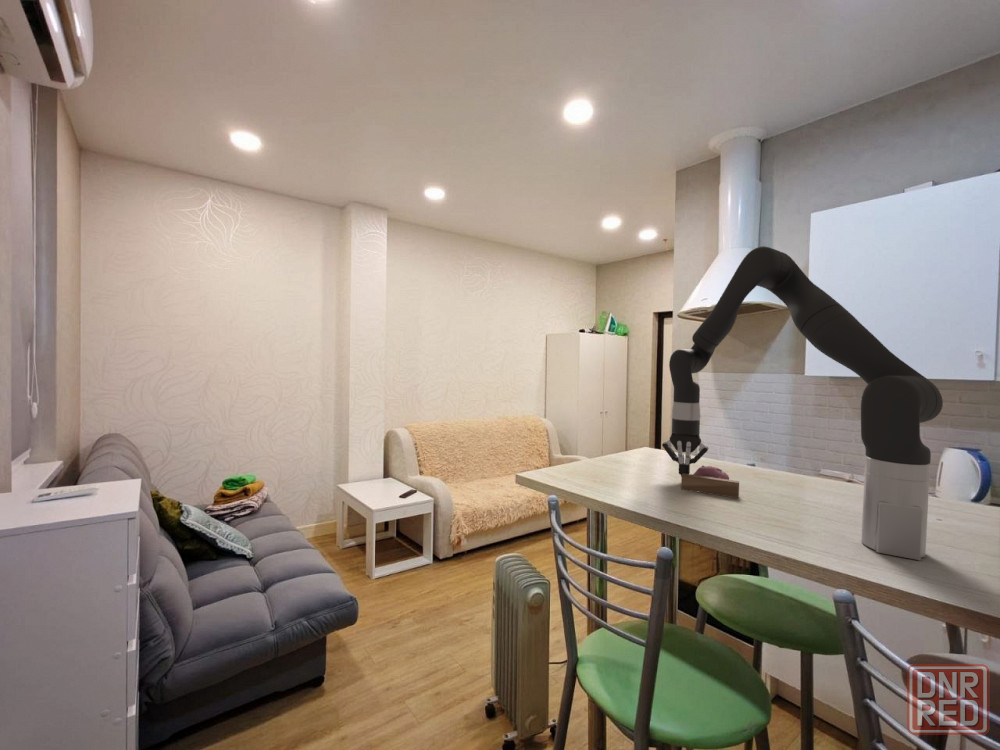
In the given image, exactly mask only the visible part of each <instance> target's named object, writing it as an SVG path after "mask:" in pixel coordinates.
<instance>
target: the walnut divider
mask: <svg viewBox="0 0 1000 750" xmlns="http://www.w3.org/2000/svg"><path fill="white" fill-rule="evenodd" d="M680 483H681V487H680V489H681V490H685V491H690V490H692V492H697V491H699V492H698V493H703V492H705V493H704V494H709V493H711V494H710V495H716V494H717V496H722V495H723V496H724V497H729V496H730V497H731V498H736V499H739V497H740V480H734V479H729V480H727V479H720V478H713V477H706V476H699V475H693V473H691V474H690V473H689V474H684V473H683V474H682V477H681V482H680ZM723 496H722V497H723ZM730 497H729V498H730Z"/></svg>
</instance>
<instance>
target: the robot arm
mask: <svg viewBox="0 0 1000 750" xmlns="http://www.w3.org/2000/svg"><path fill="white" fill-rule="evenodd" d="M756 287H760V288H764V289H766V290H768V291H770V292H771V293H772V294H773V295H774V296H776V297H777V298H778V299H779V300H780V301H781V302H783V303H784V305H785V306H786V307H787V308H788V311H789V313H790V317H791V318H792V319H791V320H792V321H793V324H794V325H795V327H796V328H797V330H798V331H799V333H800V334H802V336H803V337H804V338H805V339H807V340H808V342H809V343H810V344H811V345H812V346H813V347H814V348H815V349H816V350H818V351H819V352H820V353H822V354H823V355H825V356H826V357H828V358H830V359H831V360H833V361H835V362H836V363H837V364H841V365H842V366H843V367H845V368H847V369H848V370H850V371H852V372H853V373H855V374H856V375H857V376H859V377H860V378H861V380H863V381H864V382H865V383H866V384H867V385H866V386H865V387H864V389H863V392H862V395H861V400H860V435H861V440H862V443H863V445H864V448H865V456H864V457H865V458H864V473H863V474H864V478H863V498H862V499H863V500H862V518H861V519H862V523H861V543H862V544H863V545H865V547H869V548H870V549H872V550H874V551H875V552H876V553H879V554H883V555H888V556H889V555H890V556H895V557H899V558H900V557H901V558H907V559H911V560H918V561H922V558H924V557H925V556H926V552H927V551H926V550H927V534H928V533H927V530H928V512H929V493H930V492H929V491H930V478H931V477H930V474H931V460H932V459H931V455H932V453H931V452H932V451H931V449H930V448H929V447H928V446H927V445H925V444H924V443H923V442H922V439H921V428H920V424H921V423H925V422H929V421H932V420H933V419H935V418H936V417H937V416H939V414H940V413H941V412H942V409H943V404H944V403H943V402H944V401H943V400H944V399H943V396H942V394H941V392H940V390H939V388H938V387H937V386H936V385H935V384H934V383H933V382H932V381H930V379H928V378H926V376H924V375H923V374H921V373H920V372H918V370H916V369H914V368H913V367H912V366H910V365H908V364H907V363H906V362H904V361H903V360H901V359H900V357H898V356H897V355H895V354H894V353H893V352H892V351H890V350H889V349H888V348H887V347H886V346H885V345H884V344H883V343H882V341H880V340H879V339H878V338H877V337H876V336H875V335H874V334H873V333H872V332H870V330H868V328H866V327H865V326H864V325H863V324H862V323H861V322H860V321H859V320H858V319H857V318H856V317H855V316H854V315H853V314H852V313H851V312H849V311H848V310H847V309H846V307H844V306H843V305H842V304H840V303H839V302H838V301H837V300H836V299H835V298H833V297H832V296H831V295H830V294H828V293H827V292H826V291H825V290H823V289H822V288H821V287H819V286H818V285H816V284H815V283H814V282H812V280H810V278H809V277H808V276H807V275H806V273H805V272H803V270H802V269H801V268H800V267H799V265H798V264H797V263H796V261H795V260H794V259H793V258H792V256H790V255H788V254H787V253H785V252H783V251H780V250H777V249H774V248H772V247H769V246H765V245H764V246H757V247H755V248H752V250H750V251H749V252H748V253H747V254H746V255H745V256H744V257H743V259H742V260H741V262H740V263H739V265H738V266H737V268H736V270H735V272H734V273H733V275H732V277H731V279H730V281H729V282H728V284H727V286H726V287H725V289H724V291H723V292H722V294H721V296H720V298H719V299H718V301H717V303H716V304H715V306H714V307H713V308H712V309H711V312H710V313H709V314H708V315H707V316H706V318H705V319H704V320H703V321H702V323H701V324H700V325H699V327H698V328H697V329H696V330H695V331H694V333H693V334H692V342H693V344H692V346H691V348H689V349H688V348H687V349H686V348H679V349H676V350H675V351H673V352H672V353H671V355H670V358H669V363H668V365H669V366H668V367H669V372H670V376H671V377H670V378H671V382H672V385H673V402H672V410H671V414H672V415H671V435H670V437H669V440H667V441H665V442H663V443H662V444H661V446H662V447H663V449H664V451H665V452H666V453H667V454H668V455H669V457H670V458H671V460H672V461H673V462H676V463H677V464H678V475H680V478H682V474H683V473H684V474H690V473H691V472H690V471H691V467H690V466H691V464H696V463H697V462H698V461H699V460H700V459H701V458H702V457H703V456H704V455H705V454H706V453H708V450H709V447H708V446H707V445H705V444H704V443H702V439H701V437H700V428H701V407H700V406H701V405H700V395H701V394H700V393H701V389H700V385H699V383H697V382H695V381H694V379H693V374H697V373H699V372H701V371H702V370H704V369H705V367H707V366H708V364H709V362H710V360H711V358H712V356H713V354H714V353H715V350H716V348H717V347H718V346H719V345H720V344H721V343H722V342H723V340H724V339H725V338H726V337H727V336H728V334H729V333H730V332H731V331H732V329H733V327H734V326H735V324H736V320H737V316H738V314H739V310H740V309H741V306H742V304H743V302H744V300H745V299H746V298H747V296H748V295H749V294H750V293H751V292H752V291H753V290H754V289H755V288H756ZM672 447H674V449H675V451H677V454H676V452H675V451H674V450H673V448H672ZM698 447H699V448H698ZM697 448H698V451H699V452H697V454H696V455H695V456H694V457H693V458H692V454H693V452H695V451H696V449H697Z"/></svg>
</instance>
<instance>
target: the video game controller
mask: <svg viewBox="0 0 1000 750" xmlns="http://www.w3.org/2000/svg"><path fill="white" fill-rule="evenodd" d="M692 475H699V476H706V477H713V478H720V479H727V480H730V476H729V475H728V474H727V473H726V472H725V471H724V470H722V469H720V468H719V467H717V466H716V467H715V466H712V465H708V466H707V465H701V466H700V467H699V468H698V469H696V471H694V473H692Z"/></svg>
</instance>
